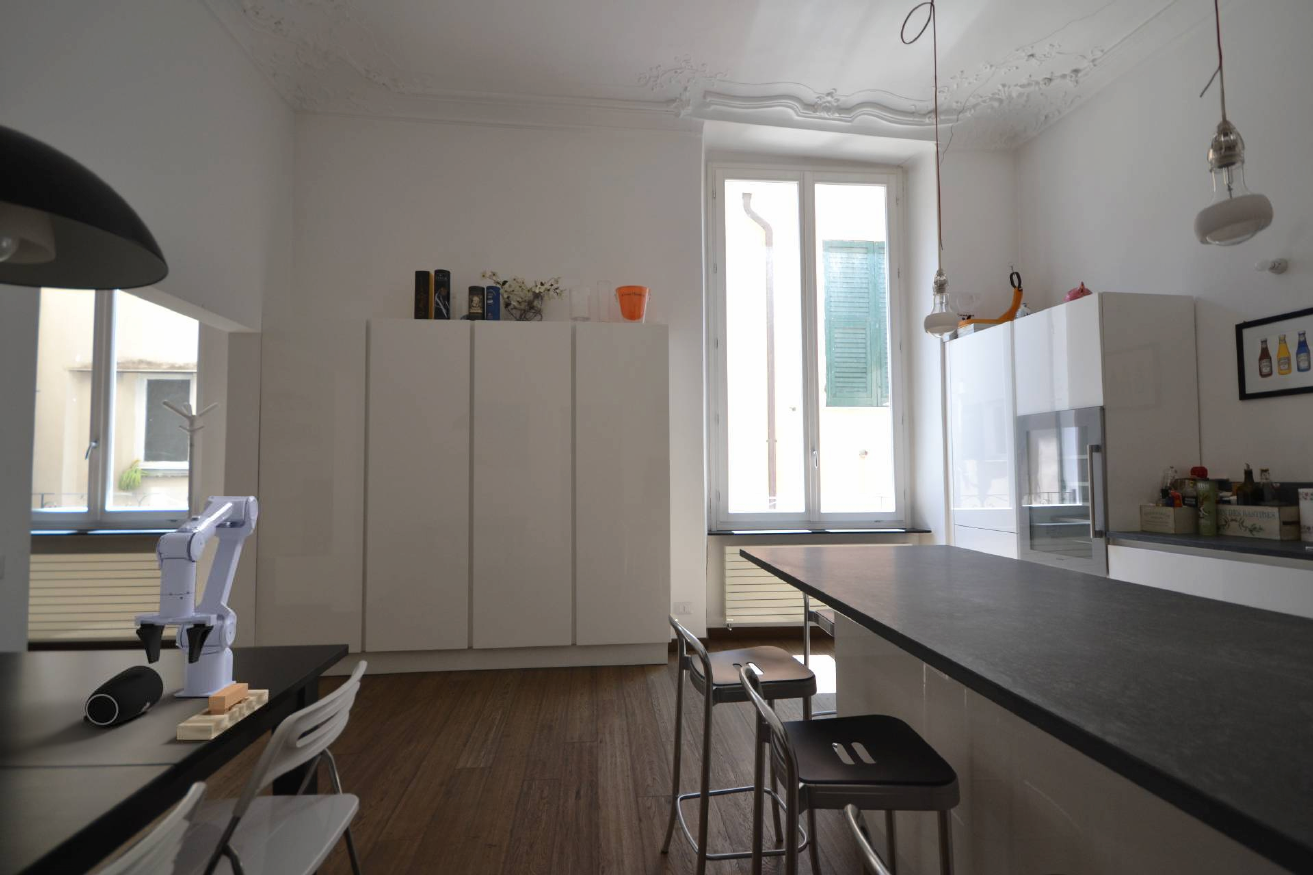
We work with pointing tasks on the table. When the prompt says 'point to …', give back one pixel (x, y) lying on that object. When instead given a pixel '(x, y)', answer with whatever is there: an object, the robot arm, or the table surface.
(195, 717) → the rail
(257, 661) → the table surface
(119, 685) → the black cylindrical speaker
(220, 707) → the clip
